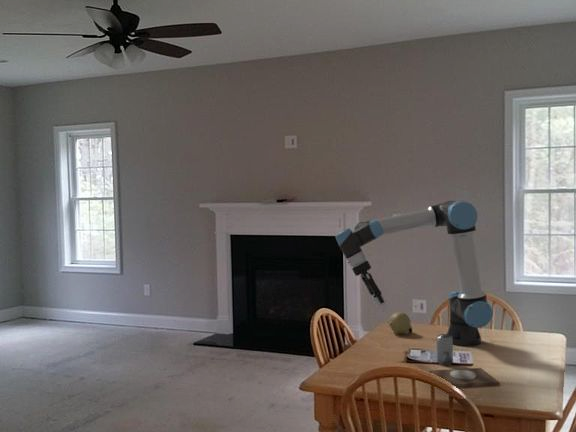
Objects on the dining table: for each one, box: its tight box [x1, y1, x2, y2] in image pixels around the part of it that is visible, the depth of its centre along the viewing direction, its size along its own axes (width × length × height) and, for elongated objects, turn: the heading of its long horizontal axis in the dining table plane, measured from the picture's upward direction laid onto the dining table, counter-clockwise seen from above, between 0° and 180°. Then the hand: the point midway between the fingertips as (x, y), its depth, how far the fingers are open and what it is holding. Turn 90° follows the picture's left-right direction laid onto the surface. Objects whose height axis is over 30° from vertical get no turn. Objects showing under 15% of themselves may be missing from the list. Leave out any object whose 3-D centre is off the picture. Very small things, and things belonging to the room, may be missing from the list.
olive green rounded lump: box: [387, 311, 413, 335], centre depth 268 cm, size 10×12×11 cm
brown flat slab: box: [428, 367, 500, 389], centre depth 201 cm, size 20×16×2 cm
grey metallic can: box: [436, 333, 454, 366], centre depth 219 cm, size 6×6×11 cm
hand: (383, 308), depth 230 cm, fingers open, 13 cm apart
